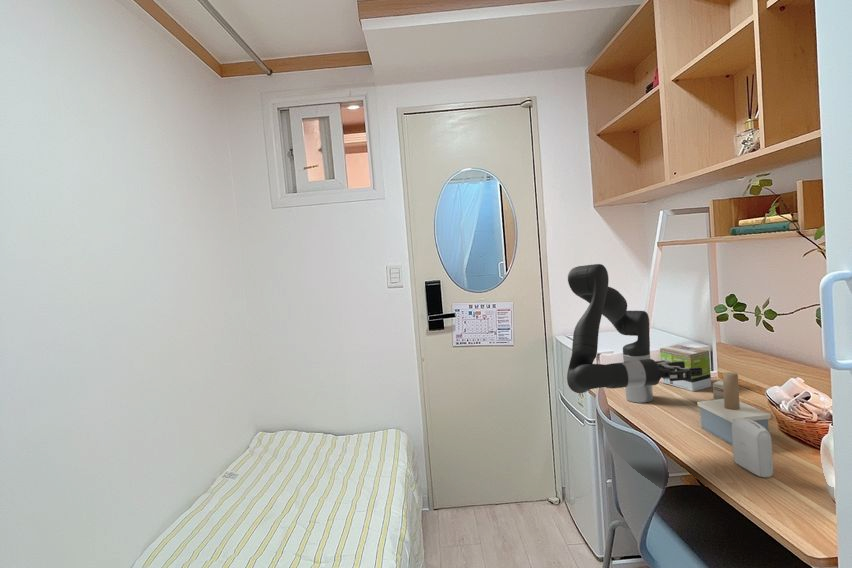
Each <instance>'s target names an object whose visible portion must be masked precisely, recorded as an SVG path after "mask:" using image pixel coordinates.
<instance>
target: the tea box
mask: <svg viewBox="0 0 852 568" xmlns="http://www.w3.org/2000/svg"><path fill="white" fill-rule="evenodd" d="M659 353H660V355H659V356H660V361H662V360H664V361H666V362H668V361H669V362H678V361H683V362H684V363H685V368H697V367H700V368H702V375H701V376H691V378H692V379H691V380H680V381H669V379H663V378H661V380H662V381H661V383H662V384H665V385H671V386H673V387H677V388H680V389H683V390H687V391H689V392H696V391H701V390H703V389H708V388H711V387H712V379H711V376H712V375H711V361H710V350H708V349H702V348H697V347H692V346H687V345H683V344H675V345H670V346H666V347H661V348H659ZM675 371H677V370H675ZM683 375H685V373H683Z"/></svg>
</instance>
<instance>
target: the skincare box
mask: <svg viewBox="0 0 852 568" xmlns="http://www.w3.org/2000/svg"><path fill="white" fill-rule="evenodd" d="M712 391H713V392H712V393H713V400H717V399H724V390H723V380H720V379H719V380H717V381H714V382H712Z"/></svg>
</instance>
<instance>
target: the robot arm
mask: <svg viewBox="0 0 852 568" xmlns="http://www.w3.org/2000/svg"><path fill="white" fill-rule="evenodd" d="M609 280H610V279H609V273H608V270H607V268H606V266H604V265H603V263H602V264H601V263H596V264H595V263H594V264H586V265H579V266H575V267H572V268H571V269H570V270H569V271H568V274H567V283H568V286H569V288H570V290H571V291H572V293H574V294H575V296H577V297H579V298H580V299H582V300H584V301H586V302H587V303H588V304H589V305H588V307H587V308H586V310H585V311H584V313H583V314H582V316H581V318H579V320H578V321H577V323H576V325H575V327H574V330H573V335H572V347H571V356H570V360H569V364H568V367H567V368H568V369H567V374H566V380H567V381H566V382H567V385H568V388H569V389H570V390H571V391H573V392H574V393H577V394H584V393H586V392H588V391H590V390H593V389H600V388H606V389H621V388H622V389H623V388H625V398H626V399H625V400H627V401H628V400H629V401H628V402H630V403H638V404H639V403H641V404H643V403H650V402H652V401H654V395H653V394H654V393H653V386H657V385H658V384H659V383H660V380H662V378H663V379H669V381H680V380H691V379H692V378H691V376H701V375H702V368H700V367H697V368H685V363H684V362H683V361H678V362H669V361H668V362H666V361H664V360H662V361H661V360H654V359H652V358H651V348H650V347H651V341H650V340H651V339H650V336H651V335H650V317H649V314H648V312H647V311H645V310H628V302H627V300H626V298H625V297H624V295H622V294H621V292H619V291H618V290H617V289H615V288H614V287H611V286H609ZM602 316H604V317H605V318H606V319H607V320H608V321H609V322H610V323H611V324H612V326H613V327H614V328H615V330H616V331H617V332H618V333H619V334H620V335H623V336H635V337H637V340H635V341H634V342H631V343H627V344H625V345H623V346H622V358H623V362H615V363H607V364H602V363H594V361H595V359H596V358H597V354H598V345H599V331H600V326H601V325H600V324H601V320H602ZM675 370H677V371H675ZM683 373H685V375H683Z"/></svg>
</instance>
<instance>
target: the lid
mask: <svg viewBox="0 0 852 568" xmlns="http://www.w3.org/2000/svg"><path fill="white" fill-rule="evenodd" d="M722 381H723V390H724V399H717V400H714V399H710V400H702V401H701V400H700V401H697V403H696V404H697V407H699V408H700V407H701V408H703V409H705V410H707V411H710V412H712V413H714V414H716V415H718V416H720V417H722V418H724V419H726V420H728V421H730V422H732V423H733V421H734V420H735V419H739V418H745V419H749V420H752V421H755V420H763V419H768V420H769V419H772V415H771V413H769V412H766V411H764V410H762V409H759V408H756V407H755V406H752V405H749V404H747V403H746V402H745V403H744V402H743V401H741V400H740V388H739V374H738V373H737V372H731V371H730V372H728V371H727V372H723V373H722Z"/></svg>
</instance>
